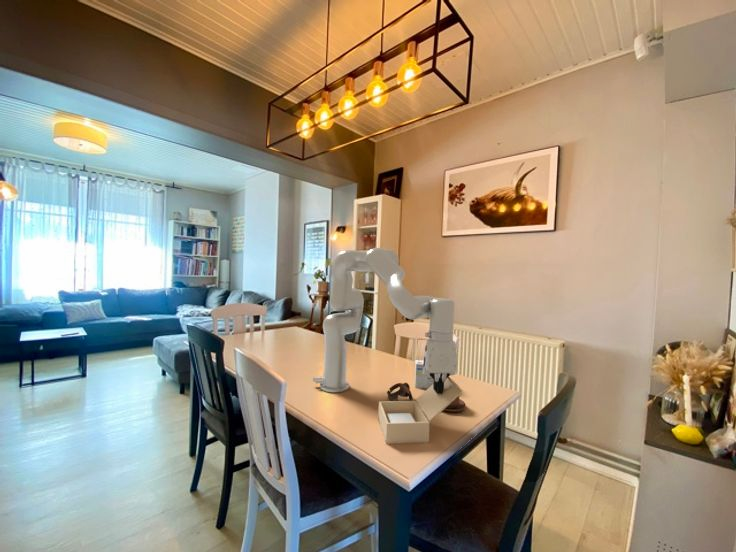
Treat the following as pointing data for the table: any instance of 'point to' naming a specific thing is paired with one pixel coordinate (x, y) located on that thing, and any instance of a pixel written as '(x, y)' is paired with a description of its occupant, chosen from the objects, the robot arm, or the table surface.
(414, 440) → the box
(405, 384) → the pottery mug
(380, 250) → the robot arm
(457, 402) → the cup and saucer
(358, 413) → the table surface
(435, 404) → the lid
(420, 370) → the light bulb box
